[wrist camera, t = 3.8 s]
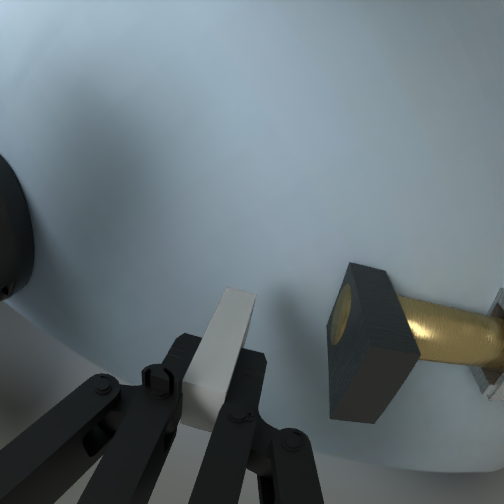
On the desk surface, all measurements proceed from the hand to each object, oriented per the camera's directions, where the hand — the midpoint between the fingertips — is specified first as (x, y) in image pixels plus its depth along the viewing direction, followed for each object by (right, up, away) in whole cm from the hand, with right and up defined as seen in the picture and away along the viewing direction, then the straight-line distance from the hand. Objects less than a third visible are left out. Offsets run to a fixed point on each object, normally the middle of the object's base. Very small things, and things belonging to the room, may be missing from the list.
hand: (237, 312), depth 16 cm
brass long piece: (+15, -2, +3) cm, 15 cm away
